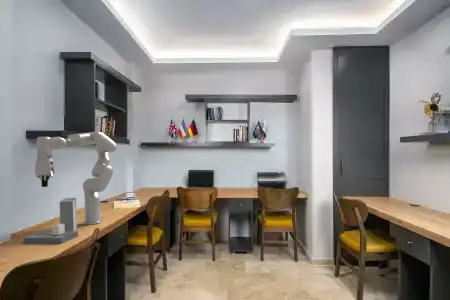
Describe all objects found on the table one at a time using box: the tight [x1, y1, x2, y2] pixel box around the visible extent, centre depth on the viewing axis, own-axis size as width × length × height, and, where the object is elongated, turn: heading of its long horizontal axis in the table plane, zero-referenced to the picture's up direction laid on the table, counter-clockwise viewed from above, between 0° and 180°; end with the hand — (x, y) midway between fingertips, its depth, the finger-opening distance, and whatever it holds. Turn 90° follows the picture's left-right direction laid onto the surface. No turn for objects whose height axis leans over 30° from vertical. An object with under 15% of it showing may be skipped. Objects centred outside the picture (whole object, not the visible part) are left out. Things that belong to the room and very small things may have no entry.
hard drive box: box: [59, 197, 78, 231], centre depth 183 cm, size 16×8×20 cm, turn 21°
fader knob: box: [51, 222, 65, 235], centre depth 163 cm, size 5×4×5 cm
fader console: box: [22, 230, 79, 244], centre depth 163 cm, size 14×23×3 cm, turn 83°
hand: (44, 186), depth 175 cm, fingers closed
